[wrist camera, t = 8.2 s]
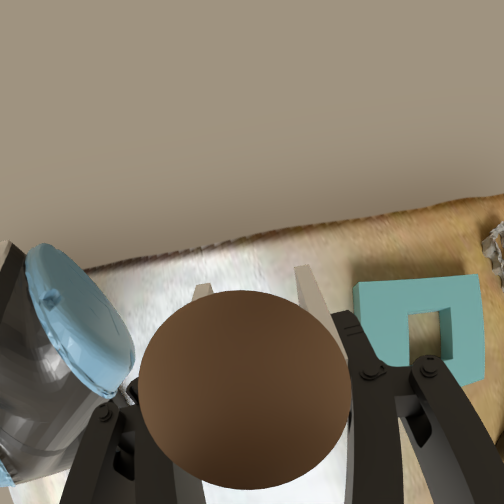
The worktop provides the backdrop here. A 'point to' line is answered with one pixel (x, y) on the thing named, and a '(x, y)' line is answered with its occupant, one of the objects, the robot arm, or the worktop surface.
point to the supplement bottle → (501, 446)
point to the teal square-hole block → (422, 301)
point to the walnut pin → (244, 390)
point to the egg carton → (495, 251)
